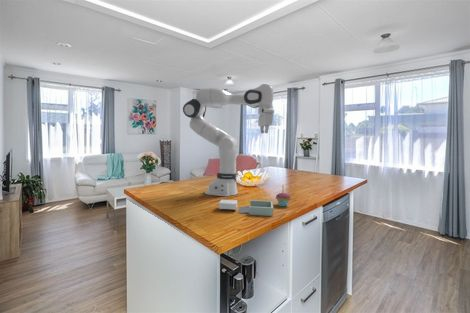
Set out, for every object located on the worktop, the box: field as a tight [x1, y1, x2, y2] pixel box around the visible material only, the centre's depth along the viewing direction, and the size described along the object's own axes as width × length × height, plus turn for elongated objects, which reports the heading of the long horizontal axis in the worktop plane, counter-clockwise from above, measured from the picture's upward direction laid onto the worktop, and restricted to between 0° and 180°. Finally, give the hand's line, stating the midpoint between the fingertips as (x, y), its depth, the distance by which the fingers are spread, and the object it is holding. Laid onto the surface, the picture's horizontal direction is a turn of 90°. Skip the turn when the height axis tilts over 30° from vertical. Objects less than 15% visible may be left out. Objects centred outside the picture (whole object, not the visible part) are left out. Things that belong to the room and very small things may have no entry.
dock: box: [237, 199, 274, 217], centre depth 126 cm, size 18×13×5 cm
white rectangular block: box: [218, 199, 238, 212], centre depth 128 cm, size 9×7×4 cm
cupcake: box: [275, 184, 292, 207], centre depth 137 cm, size 9×8×12 cm
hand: (264, 133), depth 150 cm, fingers open, 8 cm apart
